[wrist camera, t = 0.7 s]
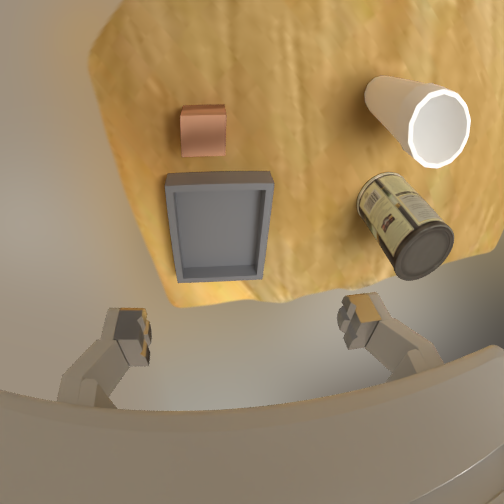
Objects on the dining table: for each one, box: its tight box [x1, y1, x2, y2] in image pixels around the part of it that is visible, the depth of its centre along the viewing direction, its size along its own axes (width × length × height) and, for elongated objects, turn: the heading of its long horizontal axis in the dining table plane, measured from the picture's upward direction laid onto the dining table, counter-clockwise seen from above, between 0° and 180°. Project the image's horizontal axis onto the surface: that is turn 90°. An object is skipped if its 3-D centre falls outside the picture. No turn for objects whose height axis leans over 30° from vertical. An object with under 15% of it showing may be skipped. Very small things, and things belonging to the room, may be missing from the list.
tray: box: [165, 171, 274, 283], centre depth 44 cm, size 18×14×4 cm
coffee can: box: [357, 172, 454, 281], centre depth 41 cm, size 10×10×14 cm
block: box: [180, 105, 227, 157], centre depth 33 cm, size 5×5×5 cm
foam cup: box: [364, 75, 471, 168], centre depth 29 cm, size 10×9×13 cm
